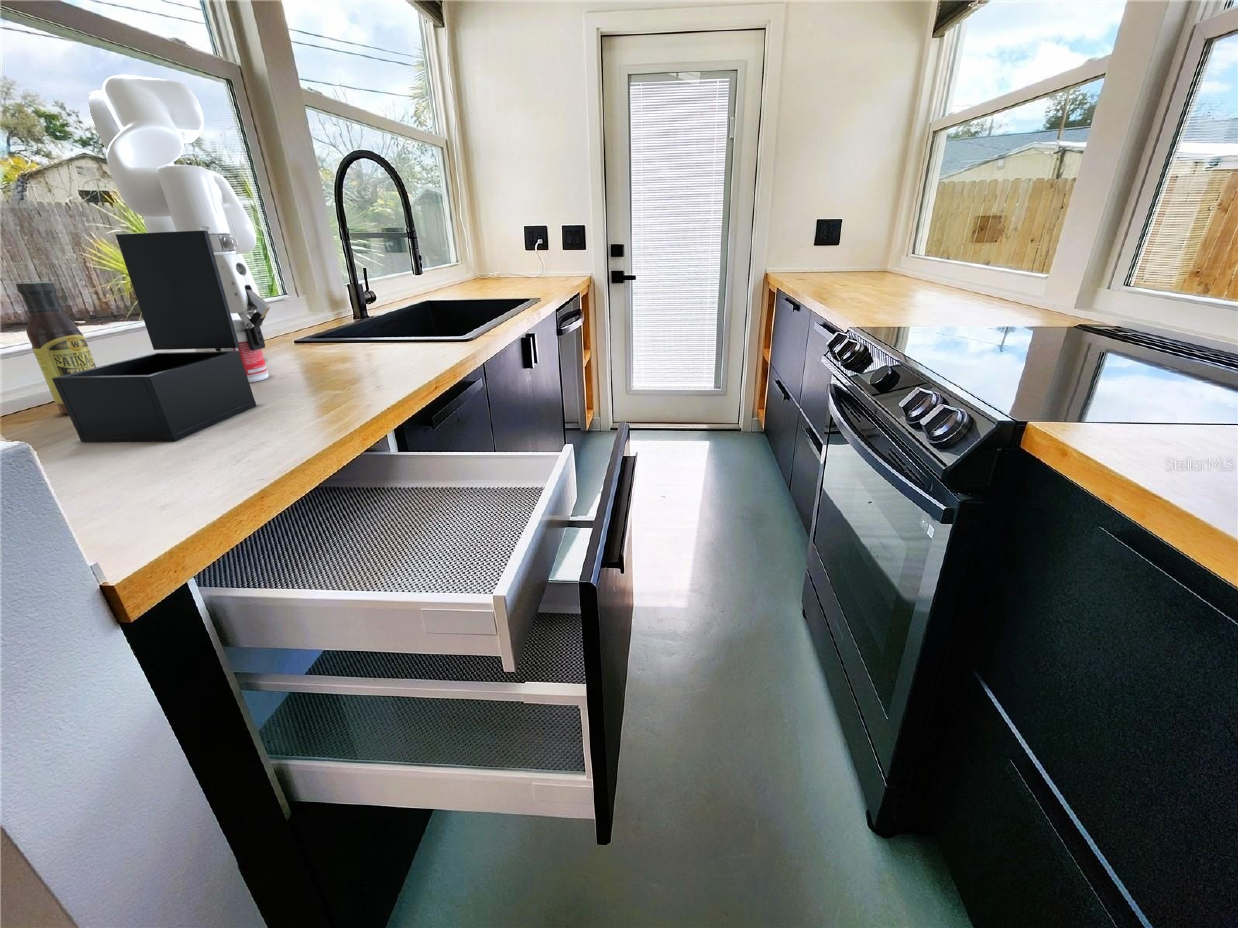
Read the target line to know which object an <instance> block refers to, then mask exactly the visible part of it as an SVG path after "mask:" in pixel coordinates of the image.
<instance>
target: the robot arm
mask: <svg viewBox="0 0 1238 928" xmlns="http://www.w3.org/2000/svg"><path fill="white" fill-rule="evenodd" d="M91 92H92V93H91ZM91 92H89V93H90V96H89V102H88V104H89V107H90V113H91V116H92V119H93V121H94V124H95V126H96V128H97V132H98V134H99V136H100V139H101V141H102V142H103V145H104V147H105V148H106V150H107V153H106V163H107V167H108V172H109V174H110V177H111V179H112V181H113V183H114V185H115V187H116V189H117V192H118V193H119V196H120V197H121V199H122V201H123V202H124V204H125V205H126V206H127V208H128V209H129V210H130V211H131V212H133V213H134V214H137V215H139V216H142V217H143V224H144V227H145V230H146V233H155V232H179V231H202V230H204V231H208V233H209V237H210V241H211V244H212V248H213V252H214V255H215V259H216V263H217V266H218V270H219V273H220V277H221V281H222V284H223V288H224V292H225V295H226V299H227V302H228V306H229V310H230V313H231V317H232V320H239V319H242V321H243V322H244V323H245V325H246V326H247V327H248V328H246V329H245V333H246V336H247V340H248V343H249V346H250V349H251V350H258V349H261V350H262V349H265V348H266V344H265V339H264V335H263V331H262V329H261V326H263V323H264V321H265V319H266V317H267V316H266V315H267V314H268V312H269V310H270V309H271V305H270V304H269V303H268V302H267V301H265V299H263V298H262V297H261V296H260V293H259V290H258V288H257V285H256V282H255V280H254V278H253V275H252V273H251V270H250V268H249V265H248V264H247V261H245V259H244V257H243V254H249V253H251V252H253V251H254V250H255V248H256V246H257V243H258V241H257V238H258V237H257V234H256V231H255V227H254V225H253V223H252V220H251V218H250V216H249V215H248V213H247V211H246V210H245V208H244V207H243V205H242V203H241V202H240V200H239V198H238V196H237V195H236V193H235V191H234V189H233V188H232V186H231V185H230V183H229V182H228V180H227V179H226V178H225V177H223V175H221V174H219V173H217V172H215V171H212V170H209V169H207V168H205V167H203V166H199V165H192V164H174V162H175V161H177V160H178V159H180V157H181V156H182V155H183V152H184V144H189V143H193V142H194V141H195V140H196V139H197V138H198V137H199V136H200V134H201V133H202V131H203V130H204V124H205V119H204V113H203V110H202V106H201V104H200V102H199V100H198V98H197V97H196V95H195V94H194V92H193V91H192V90H191V89H190V88H189V87H187V86H186V85H185V84H184V83H182V82H179V81H176V80H171V79H164V78H156V77H155V78H154V77H146V76H139V75H138V76H137V75H130V74H117V75H113V76H110V77H107V79H105V80H104V82H103V84H102V88H101V90H95V91H91ZM208 351H221V348H219V349H194V352H208Z"/></svg>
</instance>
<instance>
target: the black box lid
mask: <svg viewBox="0 0 1238 928" xmlns="http://www.w3.org/2000/svg"><path fill="white" fill-rule="evenodd" d="M115 237H116V241H117V243H118V247H119V249H120V252H121V256H122V258H123V262H124V265H125V268H126V271H127V274H128V277H129V279H130V282H131V286H132V289H133V291H134V295H135V297H136V300H137V304H138V308H139V311H140V313H141V316H142V319H143V322H144V326H145V329H146V331H147V333H148V337H149V340H150V343H151V346H152V349H153V350H154V351H167V350H169V351H170V350H171V351H172V350H195V349H219V348H239V347H240V346H239V342H238V339H237V335H236V331H235V328H234V324H233V321H232V317H231V313H230V310H229V306H228V302H227V299H226V295H225V292H224V288H223V284H222V281H221V277H220V273H219V270H218V266H217V263H216V259H215V255H214V252H213V248H212V244H211V241H210V237H209V233H208V231H204V230H202V231H179V232H155V233H148V232H136V233H115Z"/></svg>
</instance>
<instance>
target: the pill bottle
mask: <svg viewBox="0 0 1238 928" xmlns="http://www.w3.org/2000/svg"><path fill="white" fill-rule="evenodd" d="M232 321H233V324H234V328H235V331H236V335H237V339H238V342H239V346H240V347H239V348H221V351H239V352H240V356H241V359H242V362H243V365H244V368H245V371H246V374H247V377H248V380H249V384H250V383H255V382H261V381H264V380H266V379H268V378H269V375H270V374H269V371H268V367H267V365H266V361H265V358H264V354H263V352H262V349H258V350H251V349H250V346H249V343H248V340H247V336H246V333H245V329H246V328H248V327H247V326H246V325H245V323H244V322H243V321H242V319H241V318H240V319H239V320H232Z"/></svg>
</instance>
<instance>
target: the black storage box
mask: <svg viewBox="0 0 1238 928" xmlns="http://www.w3.org/2000/svg"><path fill="white" fill-rule="evenodd" d="M52 380H53V382H54V384H55V387H56V389H57V391H58V393H59V395H60V397H61V399H62V401H63V403H64V406H65V408H66V410H67V412H68V414H67V415H68V416H69V418H70V421H71V422H72V425H73V426H74V429H75V431H76V433H77V436H78V438H79V440H80V442H81V443H142V442H143V443H144V442H145V443H147V442H149V443H154V442H155V443H157V442H161V443H162V442H177V441H179V440H181V439H185V438H186V437H188V436H191V435H193V434H195V433H198V432H200V431H203V430H205V429H207V428H209V427H211V426H214V425H217V424H218V423H220V422H223V421H225V420H228V419H230V418H232V417H235V416H236V415H239V414H242V413H244V412H246V411H248V410H251V409H253V408H255V407H257V403H256V400H255V395H254V393H253V390H252V387H251V384H250V383H249V380H248V377H247V374H246V371H245V368H244V365H243V362H242V359H241V356H240V352H239V351H208V352H196V351H171V352H169V351H167V352H166V351H165V352H163V351H162V352H154V353H149V354H146V355H141V356H137V357H133V358H129V359H125V360H121V361H117V362H112V363H107V364H105V365H100V366H96V368H92V369H88V370H84V371H80V372H75V373H71V374H67V375H63V376H59V377H55V378H52Z"/></svg>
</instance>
